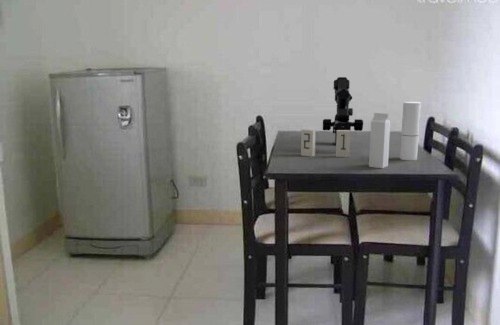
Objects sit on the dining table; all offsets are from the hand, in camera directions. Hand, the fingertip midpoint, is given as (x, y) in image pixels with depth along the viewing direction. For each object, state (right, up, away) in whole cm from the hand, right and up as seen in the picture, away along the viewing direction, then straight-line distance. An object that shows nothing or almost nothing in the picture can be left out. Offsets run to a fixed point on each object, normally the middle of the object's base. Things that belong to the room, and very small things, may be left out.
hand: (342, 139), depth 218 cm
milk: (+10, -13, -24) cm, 29 cm away
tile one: (-1, -8, -3) cm, 9 cm away
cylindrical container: (+27, -9, -10) cm, 31 cm away
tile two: (-16, -8, -1) cm, 18 cm away
